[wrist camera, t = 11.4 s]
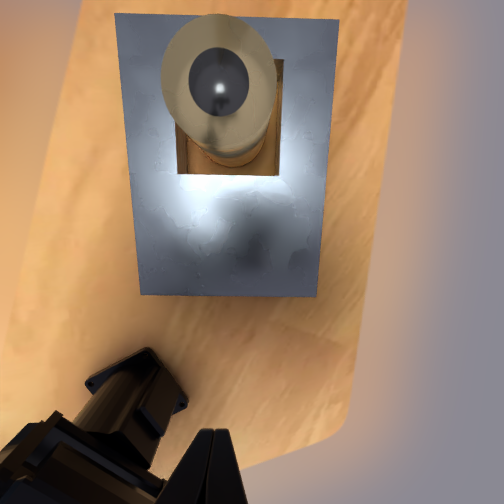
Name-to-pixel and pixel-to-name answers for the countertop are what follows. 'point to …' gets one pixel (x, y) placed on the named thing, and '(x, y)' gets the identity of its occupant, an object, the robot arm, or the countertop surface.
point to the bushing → (220, 86)
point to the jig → (229, 186)
